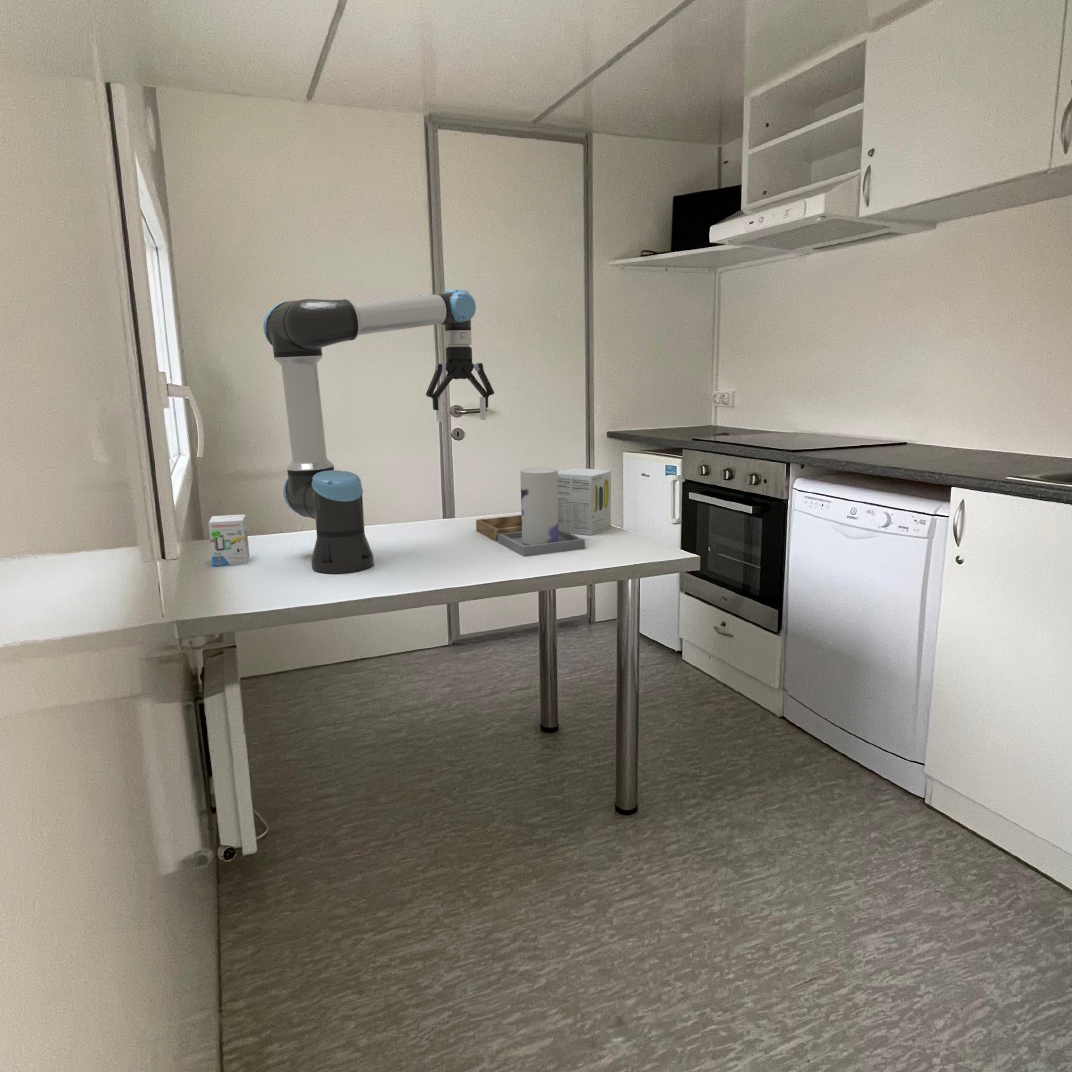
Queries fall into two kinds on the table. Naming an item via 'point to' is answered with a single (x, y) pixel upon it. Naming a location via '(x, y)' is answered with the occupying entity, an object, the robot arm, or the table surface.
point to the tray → (564, 544)
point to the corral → (498, 526)
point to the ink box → (228, 540)
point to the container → (539, 505)
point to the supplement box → (584, 500)
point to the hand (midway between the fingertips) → (461, 420)
